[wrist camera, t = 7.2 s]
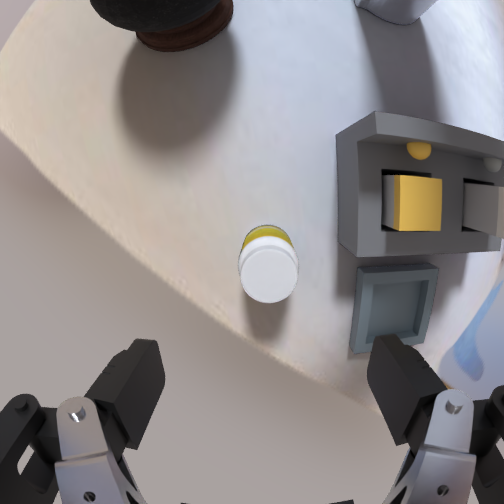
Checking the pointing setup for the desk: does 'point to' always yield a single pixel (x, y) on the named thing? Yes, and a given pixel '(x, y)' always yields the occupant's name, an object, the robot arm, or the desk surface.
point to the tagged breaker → (411, 203)
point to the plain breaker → (484, 208)
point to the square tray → (392, 304)
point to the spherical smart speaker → (168, 20)
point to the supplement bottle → (268, 264)
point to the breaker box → (411, 164)
